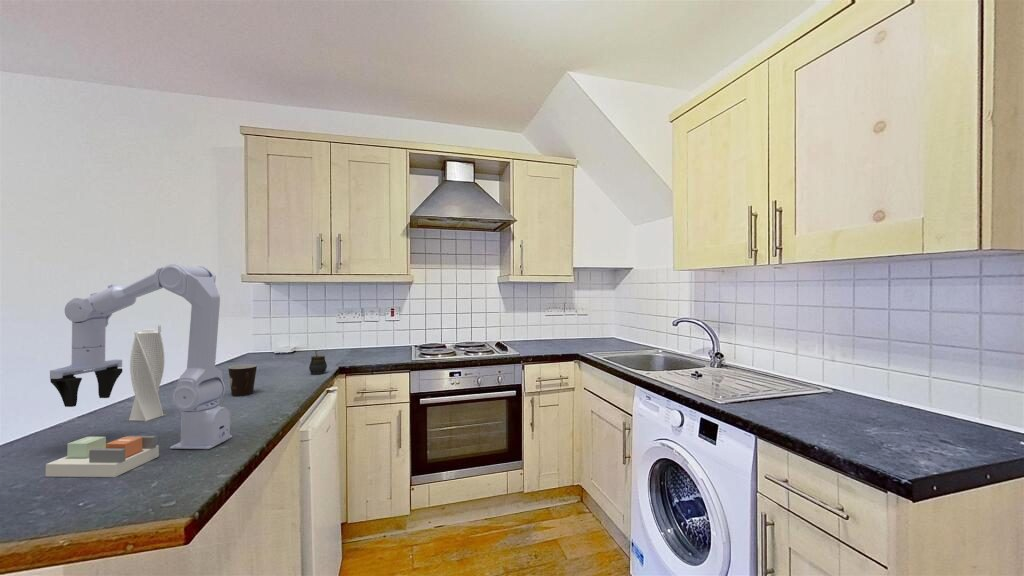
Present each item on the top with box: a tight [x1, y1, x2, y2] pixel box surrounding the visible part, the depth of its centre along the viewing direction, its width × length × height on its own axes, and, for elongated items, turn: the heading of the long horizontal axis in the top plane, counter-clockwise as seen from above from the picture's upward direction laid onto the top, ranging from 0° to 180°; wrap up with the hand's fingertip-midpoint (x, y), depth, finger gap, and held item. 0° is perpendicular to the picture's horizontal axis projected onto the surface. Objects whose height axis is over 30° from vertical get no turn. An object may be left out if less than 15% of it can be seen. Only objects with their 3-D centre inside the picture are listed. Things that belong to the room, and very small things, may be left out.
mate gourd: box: [308, 350, 328, 376], centre depth 182 cm, size 7×8×10 cm
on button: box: [66, 436, 107, 459], centre depth 86 cm, size 4×4×3 cm
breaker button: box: [106, 436, 142, 459], centre depth 86 cm, size 4×4×3 cm
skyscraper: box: [124, 323, 169, 423], centre depth 118 cm, size 8×8×28 cm
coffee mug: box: [228, 364, 258, 397], centre depth 144 cm, size 12×9×10 cm
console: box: [45, 435, 160, 478], centre depth 86 cm, size 14×10×5 cm
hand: (88, 401), depth 99 cm, fingers open, 7 cm apart
